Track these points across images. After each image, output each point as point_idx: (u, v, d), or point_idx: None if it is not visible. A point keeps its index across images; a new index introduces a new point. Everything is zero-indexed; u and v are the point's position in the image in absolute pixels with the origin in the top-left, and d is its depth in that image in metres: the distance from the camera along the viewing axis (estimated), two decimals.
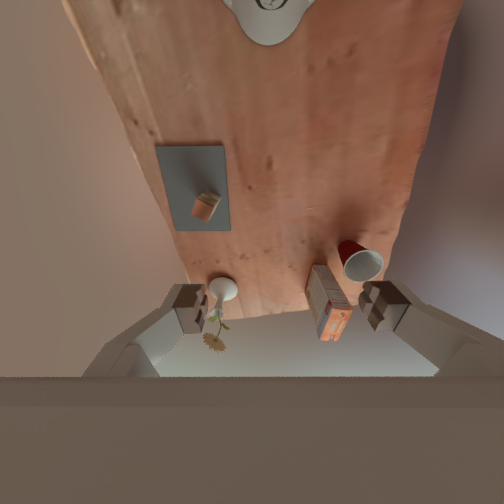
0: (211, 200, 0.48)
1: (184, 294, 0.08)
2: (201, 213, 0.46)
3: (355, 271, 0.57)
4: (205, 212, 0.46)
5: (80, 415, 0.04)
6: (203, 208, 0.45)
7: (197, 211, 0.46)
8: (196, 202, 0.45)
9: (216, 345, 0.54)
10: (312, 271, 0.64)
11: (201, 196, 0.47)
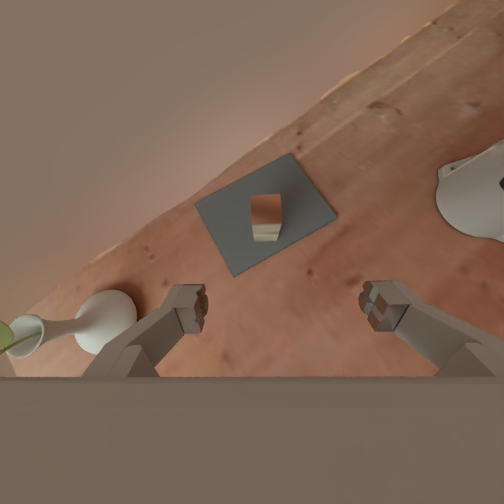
0: None
1: (184, 294, 0.08)
2: (261, 208, 0.27)
3: None
4: (266, 213, 0.27)
5: (80, 415, 0.04)
6: (271, 208, 0.27)
7: (261, 202, 0.27)
8: (274, 196, 0.28)
9: None
10: None
11: None
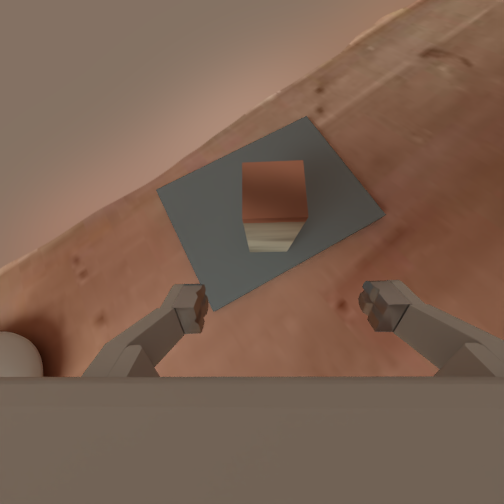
0: None
1: (184, 294, 0.08)
2: (263, 190, 0.13)
3: None
4: (274, 200, 0.13)
5: (80, 415, 0.04)
6: (284, 189, 0.13)
7: (263, 176, 0.13)
8: (291, 164, 0.13)
9: None
10: None
11: None
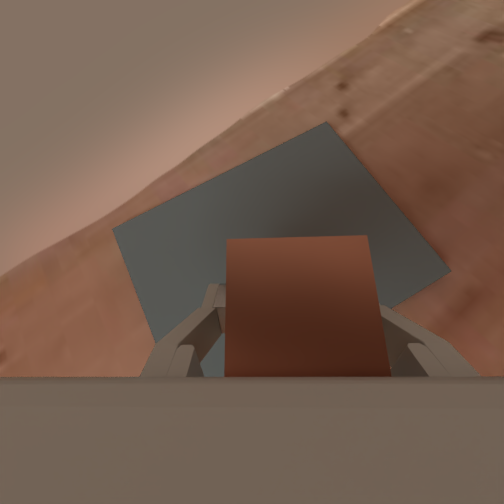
0: None
1: (222, 293, 0.08)
2: (277, 313, 0.05)
3: None
4: (305, 343, 0.05)
5: (80, 415, 0.04)
6: (328, 313, 0.05)
7: (276, 277, 0.06)
8: (340, 245, 0.06)
9: None
10: None
11: None
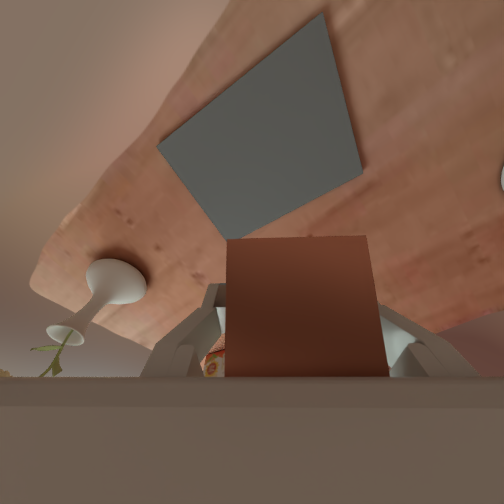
0: None
1: (222, 293, 0.08)
2: (277, 313, 0.05)
3: None
4: (304, 342, 0.05)
5: (80, 415, 0.04)
6: (327, 313, 0.05)
7: (276, 276, 0.06)
8: (339, 245, 0.06)
9: None
10: None
11: None
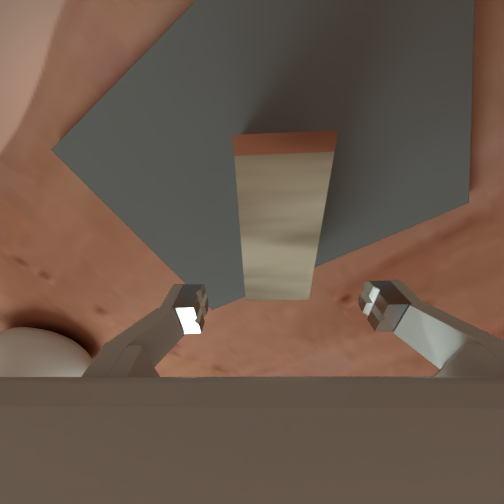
0: None
1: (184, 294, 0.08)
2: None
3: None
4: None
5: (80, 415, 0.04)
6: None
7: None
8: None
9: None
10: None
11: None
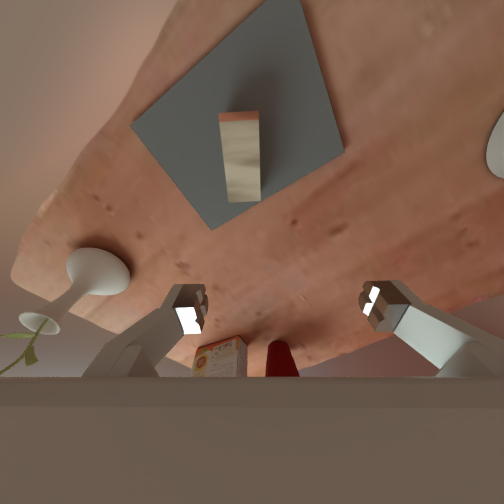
0: None
1: (184, 294, 0.08)
2: None
3: None
4: None
5: (80, 415, 0.04)
6: None
7: None
8: None
9: None
10: (232, 344, 0.48)
11: None
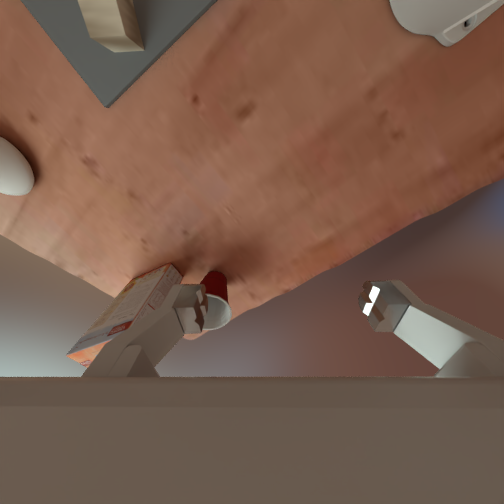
0: None
1: (184, 294, 0.08)
2: None
3: None
4: None
5: (80, 415, 0.04)
6: None
7: None
8: None
9: None
10: (162, 269, 0.45)
11: None
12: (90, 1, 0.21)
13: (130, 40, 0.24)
